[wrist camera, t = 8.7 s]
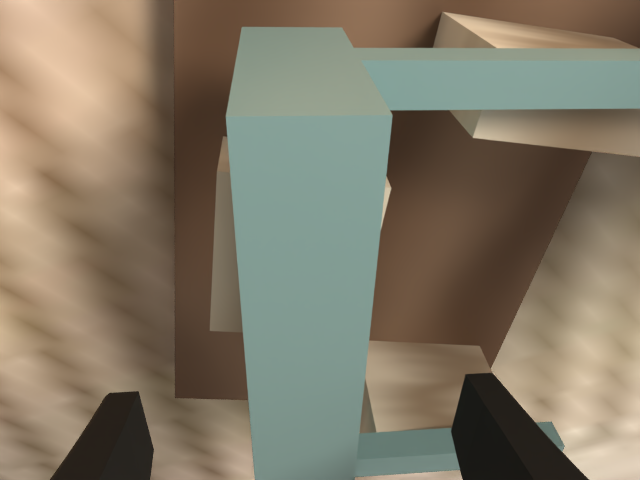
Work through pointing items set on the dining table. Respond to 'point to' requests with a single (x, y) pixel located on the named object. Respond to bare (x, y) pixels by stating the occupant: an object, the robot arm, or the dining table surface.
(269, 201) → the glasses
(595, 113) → the display stand
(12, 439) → the dining table surface
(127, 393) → the robot arm
